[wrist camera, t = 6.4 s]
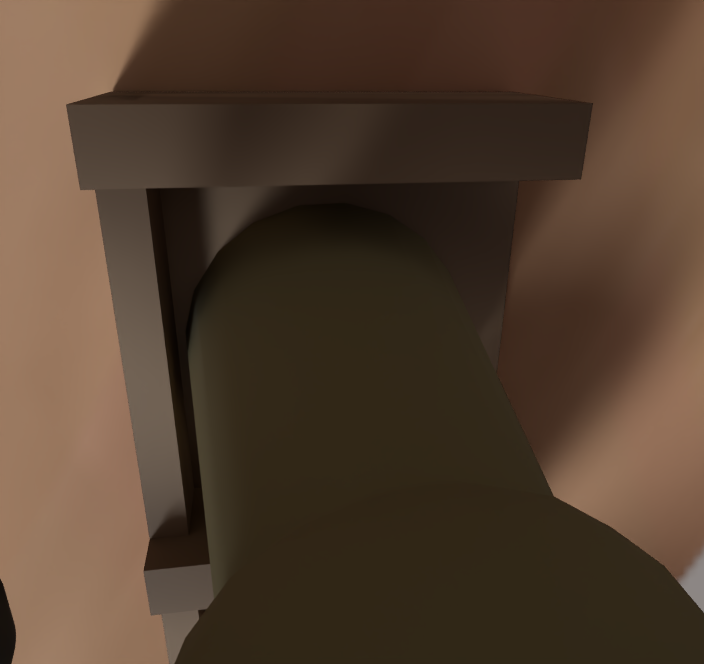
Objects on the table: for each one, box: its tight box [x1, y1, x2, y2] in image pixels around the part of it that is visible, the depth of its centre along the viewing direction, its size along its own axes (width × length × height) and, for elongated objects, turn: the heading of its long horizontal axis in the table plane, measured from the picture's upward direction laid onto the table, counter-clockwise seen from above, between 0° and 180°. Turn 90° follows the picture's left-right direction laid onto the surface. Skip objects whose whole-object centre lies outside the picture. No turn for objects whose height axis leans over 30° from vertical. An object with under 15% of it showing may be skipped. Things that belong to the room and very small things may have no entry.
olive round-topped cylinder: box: [174, 203, 704, 664], centre depth 9 cm, size 6×6×11 cm
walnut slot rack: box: [66, 92, 593, 664], centre depth 15 cm, size 19×8×3 cm, turn 179°
